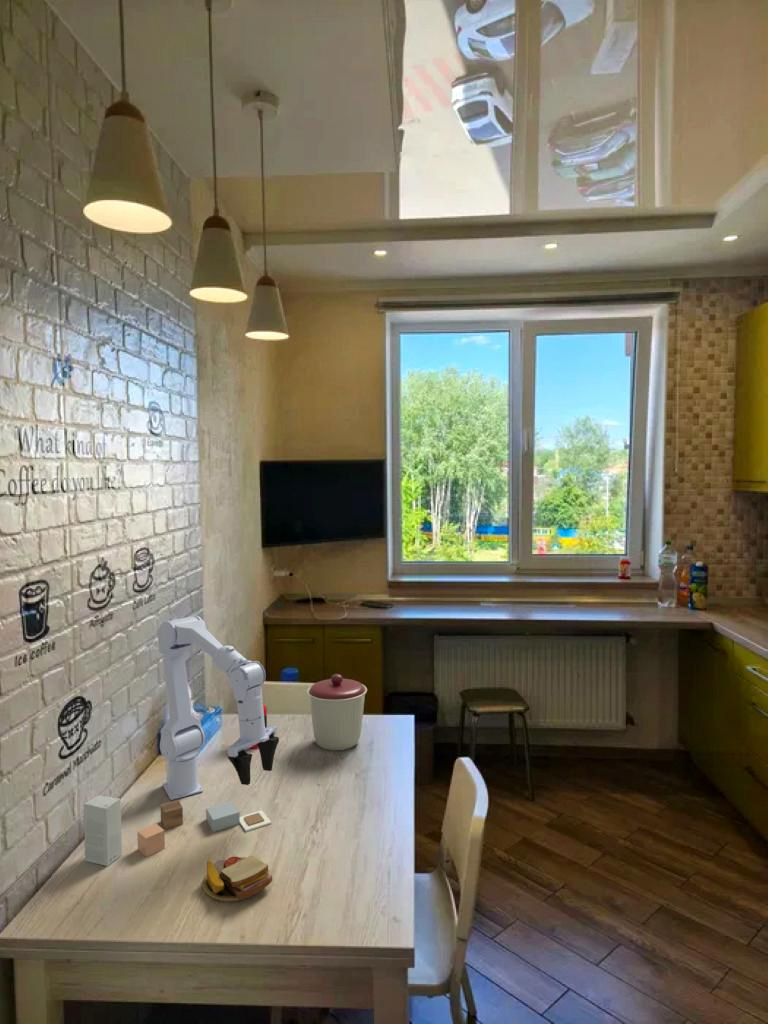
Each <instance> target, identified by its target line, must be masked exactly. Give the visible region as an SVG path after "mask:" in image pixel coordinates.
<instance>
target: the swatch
mask: <svg viewBox="0 0 768 1024" xmlns="http://www.w3.org/2000/svg"><path fill="white" fill-rule="evenodd" d="M271 824H272V821H271V820H270V818H269V817H268V816H267V815H266V813H265V812H264V811H263V810H262V809H261V810H257V811H254V812H251V813H248V814H245V815H242V816H241V815H240V824H239V825H240V826H241V827H242V829H243V831H244V832H249V831H250V832H251V831H252V830H256V829H259V828H262V827H266V826H268V825H271Z"/></svg>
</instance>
